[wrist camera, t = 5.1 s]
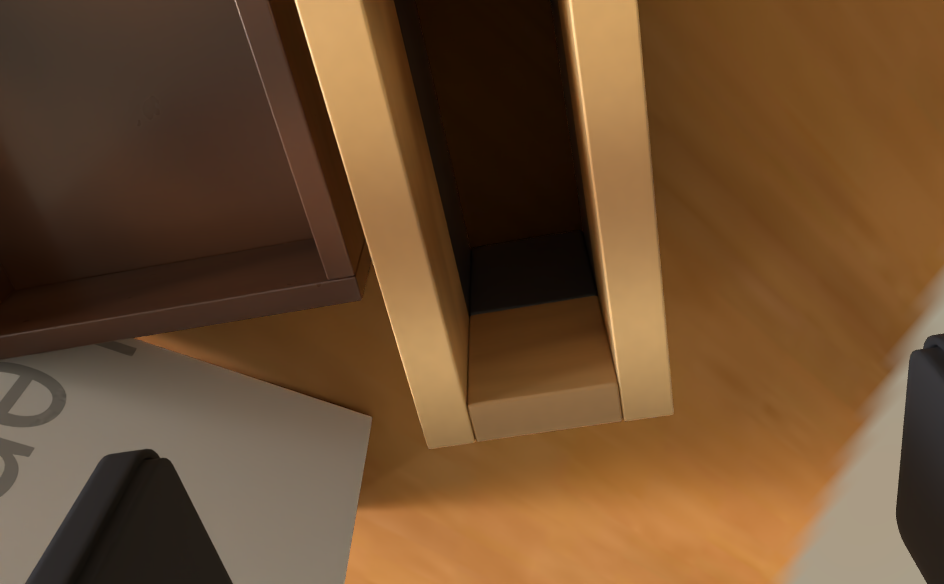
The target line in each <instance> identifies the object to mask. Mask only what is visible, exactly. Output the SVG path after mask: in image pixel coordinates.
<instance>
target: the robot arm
mask: <svg viewBox="0 0 944 584" xmlns="http://www.w3.org/2000/svg"><path fill="white" fill-rule="evenodd" d="M896 519H897V524H898V529H899V532H900V534H901V537H902V540H903V542H904V544H905V546H906V547H907V549H908V551H909V553H910V554H911V556H912V558H913V560H914V561H915V563H916V565H917V567H918V568H919V570H920V572H921V574H922V575H923V577H924V579H925V580H926V582H927V584H944V334H938V335H932V336H930V337H928V338H927V339H926V341H925V343H924V347H923V349H920V350H915V351H913V352H912V354H911V355H910V360H909V370H908V381H907V392H906V404H905V415H904V426H903V438H902V449H901V460H900V472H899V483H898V495H897V505H896ZM25 584H233V583H232V581H231V579H230V577H229V575H228V573H227V571H226V569H225V567H224V565H223V563H222V561H221V559H220V557H219V555H218V553H217V551H216V549H215V547H214V545H213V543H212V541H211V539H210V537H209V535H208V533H207V531H206V529H205V527H204V525H203V523H202V521H201V519H200V517H199V515H198V513H197V511H196V509H195V507H194V505H193V503H192V501H191V499H190V497H189V495H188V493H187V491H186V489H185V487H184V485H183V483H182V481H181V479H180V477H179V475H178V473H177V471H176V469H175V467H174V465H173V464H172V462H171V461H170V460H169V459H167V458H160V457H159V455H158V454H157V453H156V452H155V451H154V450H152V449H141V450H134V451H127V452H120V453H114V454H108V455H106V456H104V457H103V458H102V459H101V460H100V461H99V463H98V464H97V466H96V468H95V469H94V471H93V473H92V474H91V476H90V477H89V479H88V481H87V482H86V484H85V486H84V487H83V489H82V491H81V492H80V494H79V496H78V497H77V499H76V500H75V502H74V504H73V505H72V507H71V509H70V510H69V512H68V514H67V515H66V517H65V519H64V520H63V522H62V523H61V525H60V527H59V528H58V530H57V532H56V533H55V535H54V537H53V538H52V540H51V541H50V543H49V545H48V546H47V548H46V550H45V551H44V553H43V555H42V556H41V558H40V560H39V561H38V563H37V564H36V566H35V568H34V569H33V571H32V573H31V574H30V576H29V578H28V579H27V581H26V582H25Z"/></svg>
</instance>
